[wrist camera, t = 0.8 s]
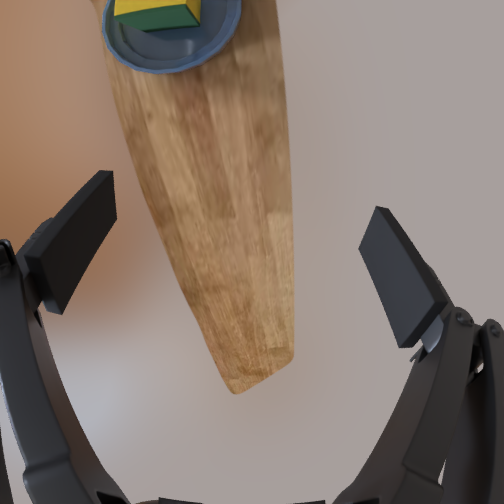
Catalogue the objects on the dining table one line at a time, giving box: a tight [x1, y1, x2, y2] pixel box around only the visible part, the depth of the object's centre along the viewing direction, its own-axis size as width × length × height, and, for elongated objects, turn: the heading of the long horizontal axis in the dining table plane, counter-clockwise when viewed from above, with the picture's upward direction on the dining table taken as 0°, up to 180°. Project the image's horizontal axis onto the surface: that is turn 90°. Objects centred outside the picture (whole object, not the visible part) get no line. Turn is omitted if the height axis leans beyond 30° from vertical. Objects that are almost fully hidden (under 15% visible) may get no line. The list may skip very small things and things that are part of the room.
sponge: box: [114, 0, 201, 33], centre depth 22 cm, size 4×7×11 cm, turn 89°
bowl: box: [102, 0, 241, 74], centre depth 25 cm, size 17×17×4 cm
